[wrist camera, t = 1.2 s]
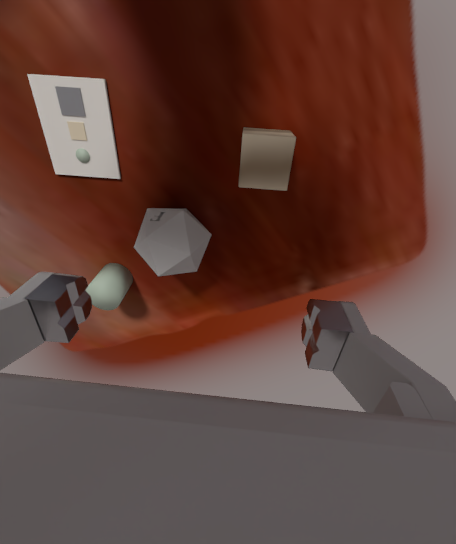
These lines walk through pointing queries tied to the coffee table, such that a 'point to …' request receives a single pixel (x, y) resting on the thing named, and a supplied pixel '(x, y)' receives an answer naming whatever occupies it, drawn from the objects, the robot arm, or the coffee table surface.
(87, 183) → the coffee table surface
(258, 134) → the birch block
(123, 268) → the pale green rounded lump
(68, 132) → the plan card
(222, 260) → the coffee table surface
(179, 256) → the die
